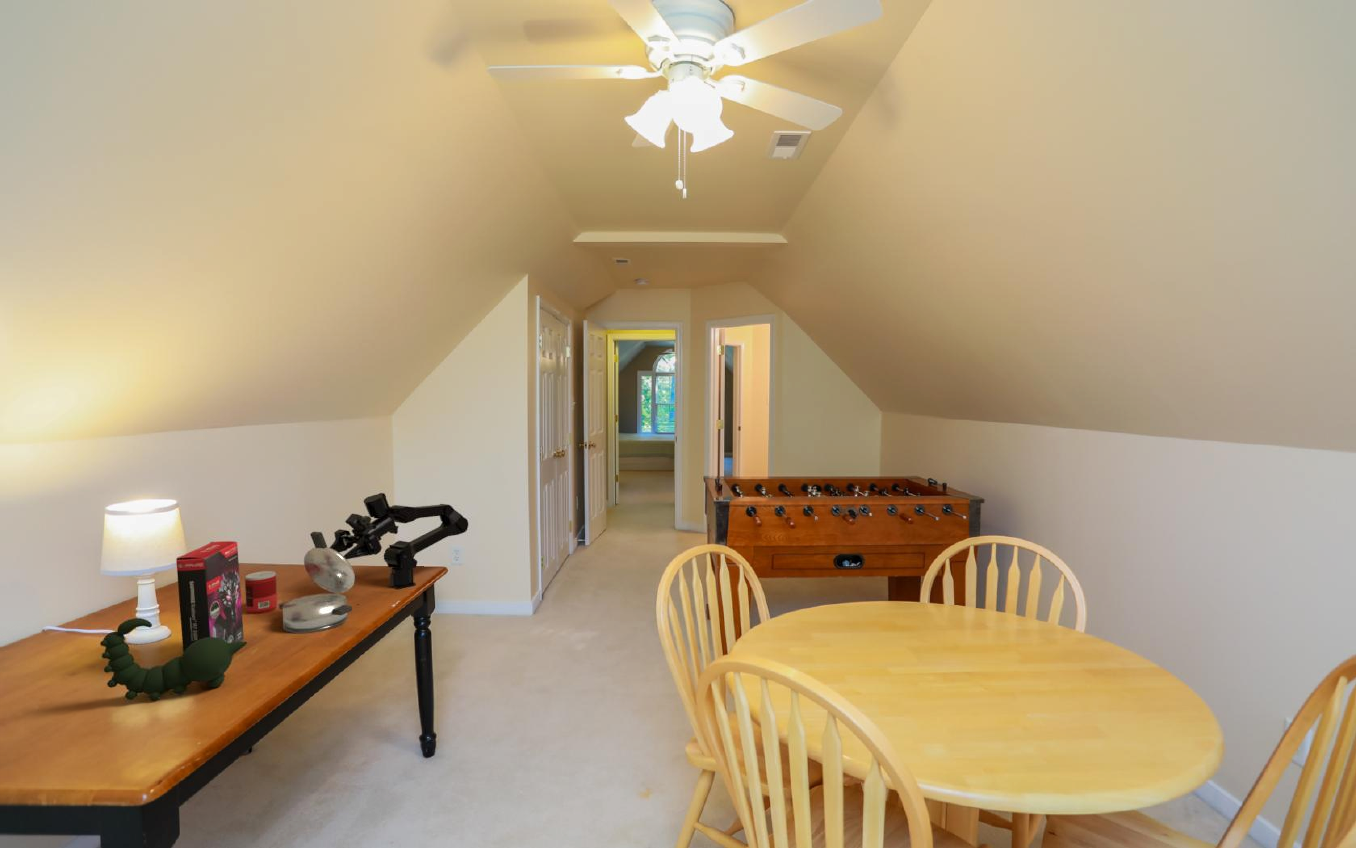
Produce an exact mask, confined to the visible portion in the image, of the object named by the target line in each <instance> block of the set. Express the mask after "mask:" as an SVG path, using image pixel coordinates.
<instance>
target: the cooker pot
mask: <svg viewBox="0 0 1356 848" xmlns="http://www.w3.org/2000/svg"><path fill="white" fill-rule="evenodd" d="M278 608H279V610H282V629H283V631H284V632H286V633H289V634H311V633H318V632H319V633H320V632H322V631H327V629H328V630H331V629H334V628H336V626H337V627H339V626H341V625H343V624H345V623H346V622H347V621H348V617H349V616H348V613H350V612H352V611H353V606H352V605H348V602H347V596H346V595H344V594H342V593H319V594H311V595H305V596H302V597H299V598H294V599H290V600H287V601H285V602H281V603H279V604H278ZM346 620H347V621H346ZM345 621H346V622H345ZM344 622H345V623H344ZM340 624H341V625H340ZM338 625H339V626H338ZM330 628H331V629H330Z"/></svg>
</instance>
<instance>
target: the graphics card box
mask: <svg viewBox="0 0 1356 848" xmlns="http://www.w3.org/2000/svg"><path fill="white" fill-rule="evenodd" d="M238 548H239V547H238V542H237V541H233V540H226V541H223V540H222V541H210V542H209V543H208V544H206V545H202V546H200V547H198V548H196V549H193V550H192V551H190V552H188V553H185V554H182V555H180V556H177V557H176V561H175V562H176V572H177V573H176V574H177V586H178V587H177V588H178V599H179V600H178V602H179V614H180V615H179V616H180V627H181V629H180V630H181V640H182V641H181V643H182V651H183V652H182V654H183V653H184V651H185V650H186V649H187V648H188V647H189V646H190V645H191V644H193V643H194V642H196V641H198V640H200V639H203V638H207V637H216V638H220V639H223V640H224V641H226V642H227V643H235V642H243V641H244V640H245V637H244V636H245V635H244V621H243V606H242V593H241V591H242V590H241V577H240V564H239V551H238Z"/></svg>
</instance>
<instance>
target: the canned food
mask: <svg viewBox="0 0 1356 848" xmlns="http://www.w3.org/2000/svg"><path fill="white" fill-rule="evenodd" d="M244 585H245V586H244V588H245V590H244V591H245V608H246V612H247V614H250V615H261V614H266V613H269V612H272V611H274V610H276V609H277V606H278V599H277V598H278V597H277V595H278V593H277V591H278V590H277V573H276V571H274V570H273V571H272V570H264V571H257V572H253V573H249V574H247V575H245V576H244Z"/></svg>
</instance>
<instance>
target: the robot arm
mask: <svg viewBox="0 0 1356 848" xmlns="http://www.w3.org/2000/svg"><path fill="white" fill-rule="evenodd" d="M363 504H364V507H365V509H366V511H367V513H368V515H361V514H357V513H351V514H350V515H349V516H348V517H347V519H346V520H345V521H344V522H345V523H346V524H347V525H348V526H350V527H351V532H352V534H353V535H352V534H351V532H350V530H347V529H341V528H339V529H338V530H336V531H334V533H333V535H334V541H333V543H332V544H331V545H330V546H329V548H331V549H333V550H335V551H337V552H339V553H340V554H341V553H342V552H346V553H345V554H344V555H343V556H344V557H345V558H346V559H347V560H350V559H356V558H361V557H362V558H363V557H367V556H368V557H369V556H373V555H375V556H377V555H378V554H379V553H380V552H381V551H382V549H383V548H382V544H381V540H382V537H383V536H384V535H386V534H388V533H390V534H393V535H397V534H398V533H399V532H398V531H399V525H396V523H398V524H409V523H411V522H414V521H415V520H418V519H421V518H433V517H439V520H440V521H441V523H440V525H439V526H438V527H435V528H434V529H432V530H429V531H428V532H427V533H424V534H423V535H420V536H418V537H416V538H414V539H413V540H411V541H404V540H397V541H396V542H395V543H393V544H389V545H388V546H389V547H387V548H386V549H385V551H384V553H383V560H384V562H385V563H386V564H387V567H388V568H391V569H390V573H389V586H391V587H392V586H393V588H394V587H395V588H394V589H396V588H397V590H398V589H404V588H407V587H412V586H416V585H417V583H416V582H414V579H415V578H414V569H416V567H417V565H418V560H417V559H416V558H415V556H416V554H418V553H420V552H422V551H423V550H425V549H427V548H428V547H431V546H433V545H435V544H437V543H439V542H440V541H442V540H444V539H447V538H448V537H452V536H459V535H461V534H463V533H466V532H467V531H468V529H469V521H468V519H467V518H466V517H464V515H462V514H461V513H460V512H458V511H457V510H456V509H454V507H453V506H451V505H450V504H448V503H447V504H445V503H439V504H434V505H433V504H432V505H423V506H420V505H419V506H406V505H400V504H399V505H397V504H394V505H392V506H390V504H389V503H388V499H387V496H386V493H384V492H380V493H378V494H373V495H371V496H367V497H366V498H364V499H363ZM372 518H374V520H373V521H372ZM355 544H356V545H355ZM354 545H355V546H354ZM352 547H353V548H352ZM349 549H350V550H349Z"/></svg>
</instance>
